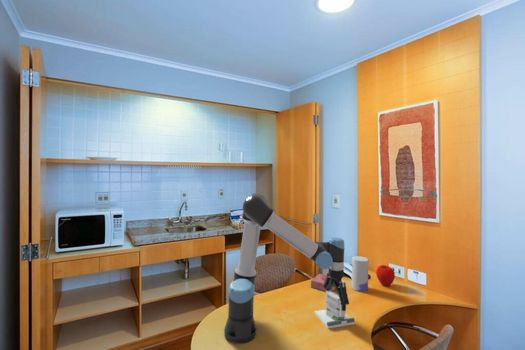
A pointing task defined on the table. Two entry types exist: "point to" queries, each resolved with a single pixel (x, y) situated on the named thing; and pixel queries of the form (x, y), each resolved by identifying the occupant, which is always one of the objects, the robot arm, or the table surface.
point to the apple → (385, 275)
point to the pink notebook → (320, 282)
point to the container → (360, 273)
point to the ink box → (333, 306)
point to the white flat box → (331, 322)
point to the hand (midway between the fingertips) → (335, 309)
